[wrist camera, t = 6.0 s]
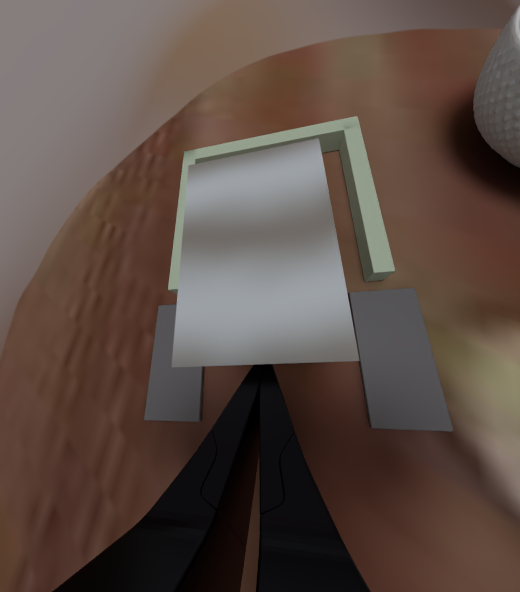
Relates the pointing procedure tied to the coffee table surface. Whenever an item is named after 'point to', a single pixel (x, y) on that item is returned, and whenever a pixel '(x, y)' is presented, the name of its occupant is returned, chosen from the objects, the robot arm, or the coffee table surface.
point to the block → (261, 264)
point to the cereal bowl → (501, 94)
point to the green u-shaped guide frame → (364, 305)
